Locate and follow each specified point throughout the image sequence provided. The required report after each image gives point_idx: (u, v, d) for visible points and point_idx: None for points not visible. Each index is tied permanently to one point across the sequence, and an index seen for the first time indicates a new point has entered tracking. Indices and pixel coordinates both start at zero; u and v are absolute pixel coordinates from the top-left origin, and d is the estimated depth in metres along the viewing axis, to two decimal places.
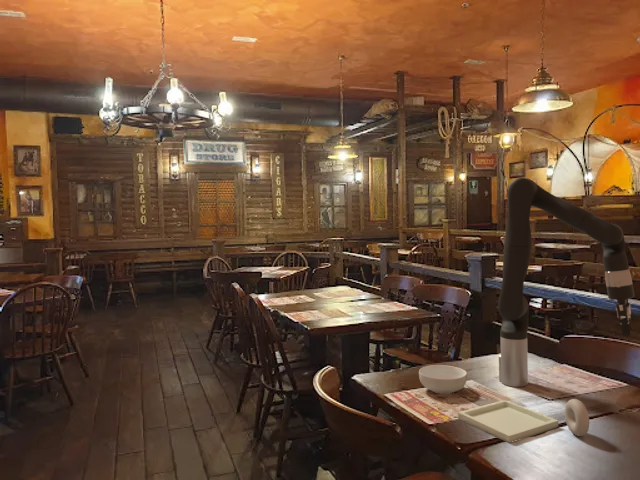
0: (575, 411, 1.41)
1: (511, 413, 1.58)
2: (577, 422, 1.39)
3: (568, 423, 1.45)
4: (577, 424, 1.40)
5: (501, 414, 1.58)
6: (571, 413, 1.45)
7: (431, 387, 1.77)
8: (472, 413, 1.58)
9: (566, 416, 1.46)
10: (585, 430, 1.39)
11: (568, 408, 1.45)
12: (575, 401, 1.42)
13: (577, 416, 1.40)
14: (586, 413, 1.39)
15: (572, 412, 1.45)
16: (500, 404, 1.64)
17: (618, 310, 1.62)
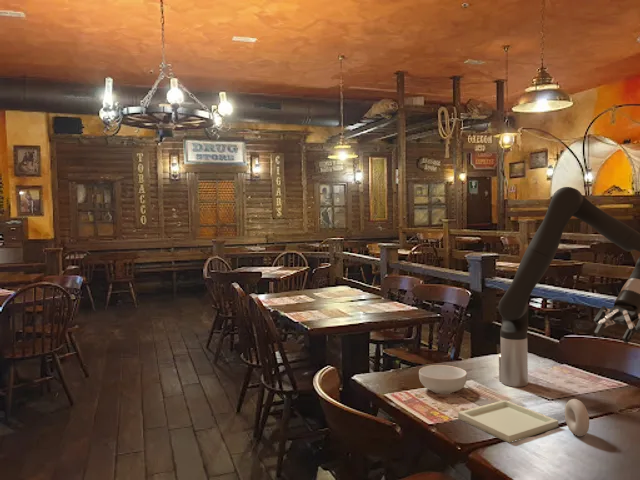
0: (575, 411, 1.41)
1: (511, 413, 1.58)
2: (577, 422, 1.39)
3: (568, 423, 1.45)
4: (577, 424, 1.40)
5: (501, 414, 1.58)
6: (571, 413, 1.45)
7: (431, 387, 1.77)
8: (472, 413, 1.58)
9: (566, 416, 1.46)
10: (585, 430, 1.39)
11: (568, 408, 1.45)
12: (575, 401, 1.42)
13: (577, 416, 1.40)
14: (586, 413, 1.39)
15: (572, 412, 1.45)
16: (500, 404, 1.64)
17: None
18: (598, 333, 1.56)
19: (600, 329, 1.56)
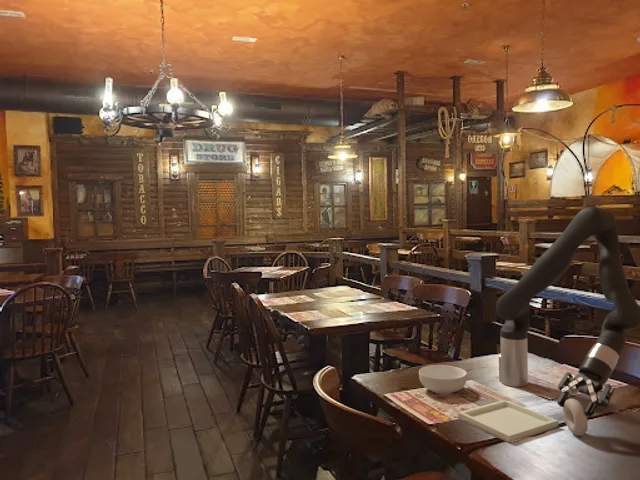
0: (572, 411, 1.41)
1: (511, 413, 1.58)
2: (575, 422, 1.39)
3: (567, 423, 1.45)
4: (575, 424, 1.40)
5: (501, 414, 1.58)
6: (569, 413, 1.45)
7: (431, 387, 1.77)
8: (472, 413, 1.58)
9: (565, 416, 1.46)
10: (584, 429, 1.39)
11: (566, 408, 1.45)
12: (572, 401, 1.42)
13: (575, 416, 1.40)
14: (583, 412, 1.39)
15: (570, 412, 1.45)
16: (500, 404, 1.64)
17: (609, 390, 1.39)
18: (561, 402, 1.46)
19: (563, 398, 1.47)
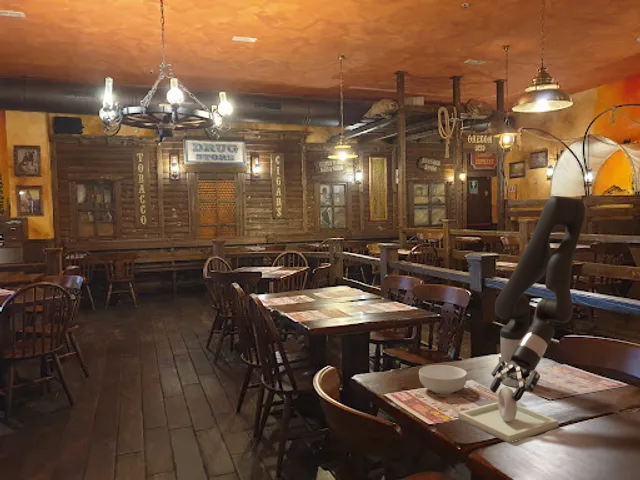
0: (504, 398, 1.50)
1: None
2: (505, 408, 1.49)
3: (500, 409, 1.55)
4: (505, 410, 1.49)
5: None
6: (503, 400, 1.55)
7: (431, 387, 1.77)
8: (472, 413, 1.58)
9: (498, 403, 1.56)
10: (512, 416, 1.48)
11: (500, 396, 1.55)
12: (506, 389, 1.52)
13: (506, 402, 1.49)
14: (514, 400, 1.49)
15: (504, 399, 1.54)
16: None
17: (534, 376, 1.48)
18: (493, 388, 1.56)
19: (495, 384, 1.56)
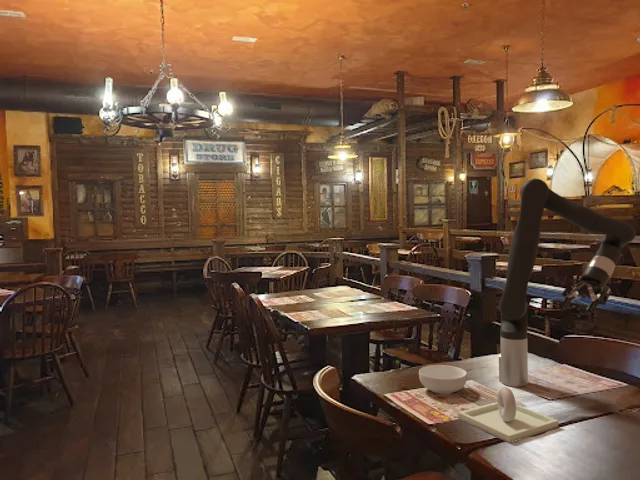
0: (503, 398, 1.50)
1: None
2: (505, 408, 1.49)
3: (499, 410, 1.55)
4: (505, 410, 1.49)
5: None
6: (502, 401, 1.55)
7: (431, 387, 1.77)
8: (472, 413, 1.58)
9: (498, 403, 1.56)
10: (512, 416, 1.48)
11: (499, 396, 1.55)
12: (504, 389, 1.52)
13: (505, 403, 1.49)
14: (513, 400, 1.49)
15: (503, 399, 1.54)
16: None
17: (606, 290, 1.61)
18: (565, 306, 1.68)
19: (567, 302, 1.69)
